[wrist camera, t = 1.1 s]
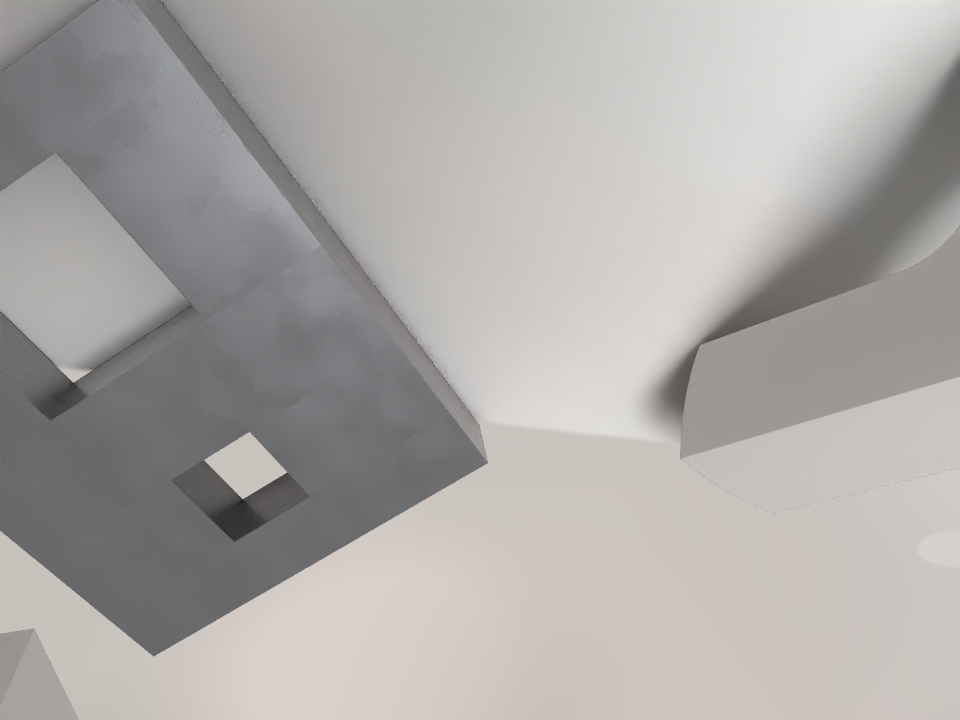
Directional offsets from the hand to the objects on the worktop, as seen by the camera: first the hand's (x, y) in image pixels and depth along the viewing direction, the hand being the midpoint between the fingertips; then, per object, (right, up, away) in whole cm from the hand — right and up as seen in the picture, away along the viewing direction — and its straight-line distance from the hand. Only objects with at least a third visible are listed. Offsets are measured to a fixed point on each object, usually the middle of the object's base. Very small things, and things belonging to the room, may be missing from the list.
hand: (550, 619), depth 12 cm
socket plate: (-14, +4, +24) cm, 28 cm away
